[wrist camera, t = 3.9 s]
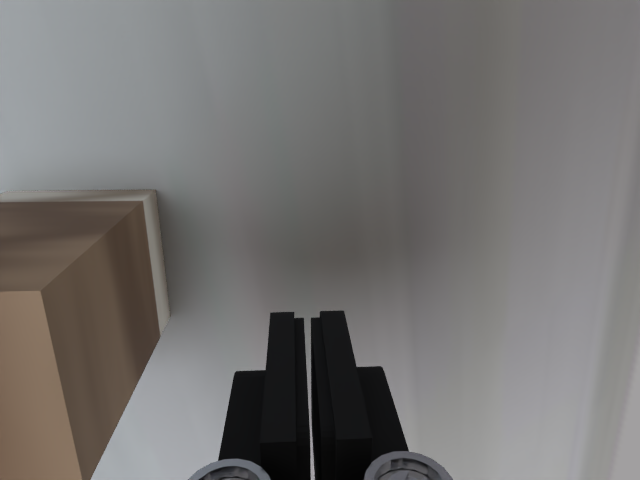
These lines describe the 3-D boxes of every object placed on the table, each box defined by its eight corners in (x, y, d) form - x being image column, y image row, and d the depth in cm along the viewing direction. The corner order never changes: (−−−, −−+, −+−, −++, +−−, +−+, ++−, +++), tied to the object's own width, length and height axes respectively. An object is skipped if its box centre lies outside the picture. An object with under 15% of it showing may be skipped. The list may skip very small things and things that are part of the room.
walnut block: (155, 189, 16) (40, 290, 9) (170, 315, 18) (84, 491, 10) (7, 190, 16) (-242, 296, 9) (36, 319, 18) (-150, 501, 10)
